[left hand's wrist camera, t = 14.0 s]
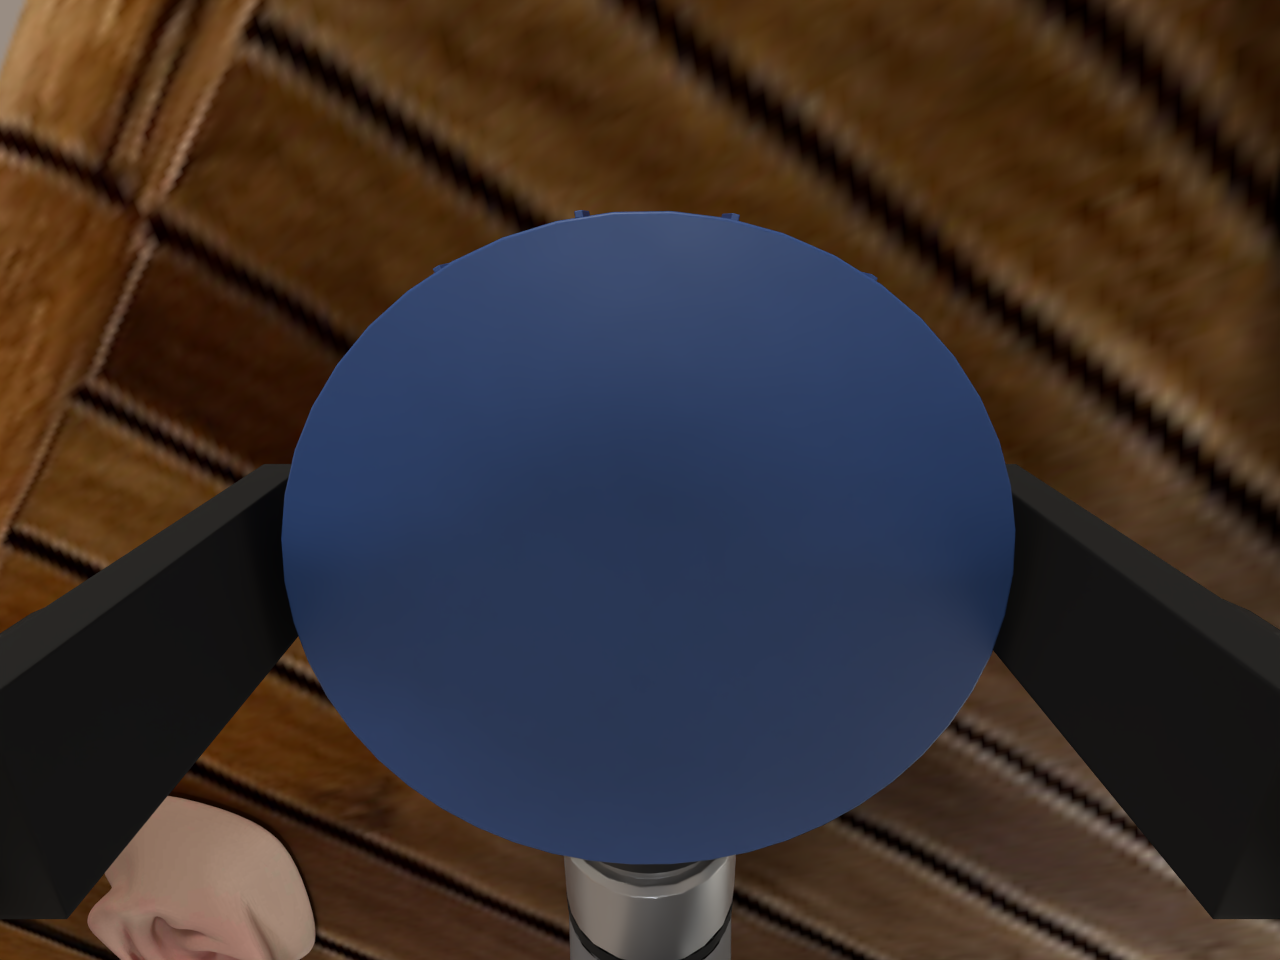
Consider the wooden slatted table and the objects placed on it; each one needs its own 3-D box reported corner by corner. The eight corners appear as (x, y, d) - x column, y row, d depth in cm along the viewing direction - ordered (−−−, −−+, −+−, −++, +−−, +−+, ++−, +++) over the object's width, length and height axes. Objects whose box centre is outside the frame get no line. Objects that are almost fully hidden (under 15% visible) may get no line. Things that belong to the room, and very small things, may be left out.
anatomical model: (25, 850, 33) (265, 867, 34) (87, 787, 37) (303, 803, 37) (79, 1028, 38) (289, 1041, 38) (129, 956, 42) (320, 969, 42)
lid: (528, 38, 9) (503, -1, 8) (1109, 459, 12) (1187, 498, 10) (231, 625, 13) (170, 684, 11) (723, 868, 15) (733, 948, 13)
